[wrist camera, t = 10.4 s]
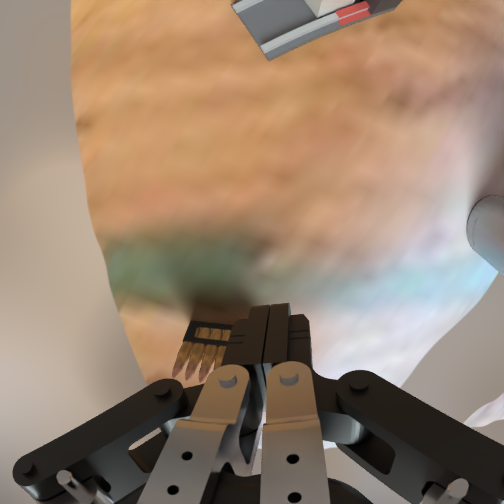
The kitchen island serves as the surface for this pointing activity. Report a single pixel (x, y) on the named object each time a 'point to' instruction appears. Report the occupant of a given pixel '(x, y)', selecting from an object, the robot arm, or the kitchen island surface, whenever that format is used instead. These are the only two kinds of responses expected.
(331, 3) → the grooved white block
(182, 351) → the ammunition clip
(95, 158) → the kitchen island surface
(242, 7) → the grey boxy device
